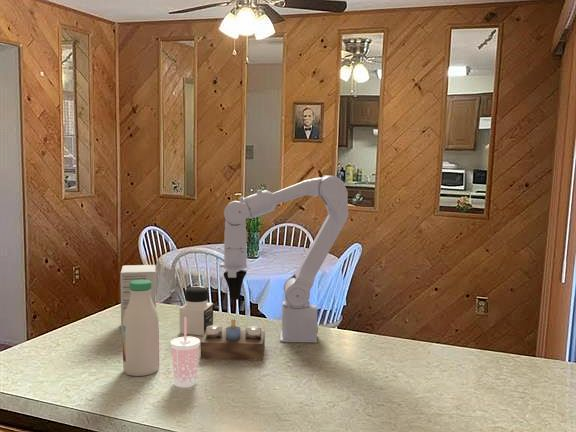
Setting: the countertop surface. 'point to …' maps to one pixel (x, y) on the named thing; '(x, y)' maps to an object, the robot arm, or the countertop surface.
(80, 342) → the countertop surface
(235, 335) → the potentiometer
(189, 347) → the beverage cup
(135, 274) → the supplement box
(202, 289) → the medicine bottle
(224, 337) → the mount
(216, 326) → the knob
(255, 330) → the knob
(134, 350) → the milk bottle
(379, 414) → the countertop surface
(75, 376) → the countertop surface
